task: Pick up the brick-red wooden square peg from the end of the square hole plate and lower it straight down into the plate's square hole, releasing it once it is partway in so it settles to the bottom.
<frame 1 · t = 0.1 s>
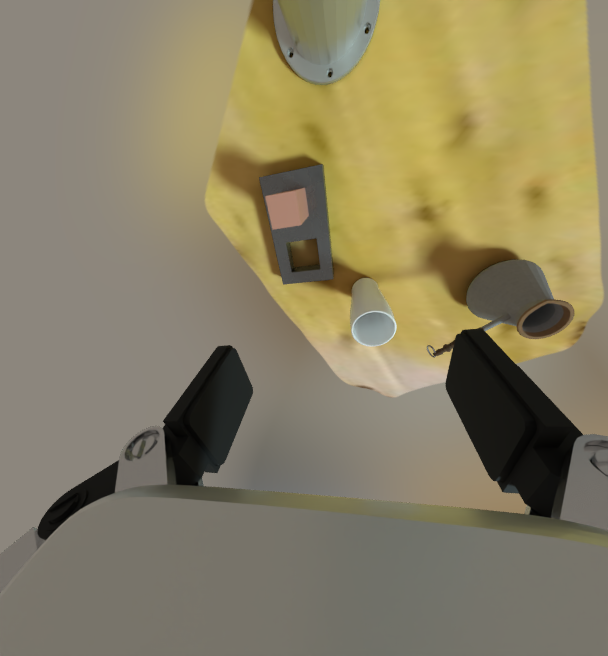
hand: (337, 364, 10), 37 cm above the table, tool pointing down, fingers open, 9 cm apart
square hole plate: (302, 229, 41), on the table
drinking glass: (364, 288, 46), on the table
coffee pot: (464, 293, 44), on the table
square peg: (295, 204, 37), point 3 cm above the table, touching square hole plate
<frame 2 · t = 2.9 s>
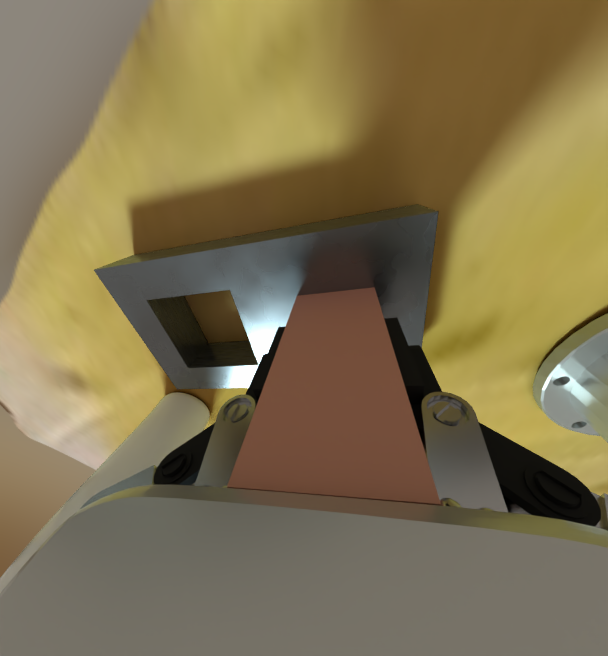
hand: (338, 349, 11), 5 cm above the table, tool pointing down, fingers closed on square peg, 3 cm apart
square hole plate: (275, 306, 16), on the table
drinking glass: (189, 404, 25), on the table
square peg: (338, 324, 13), point 3 cm above the table, touching gripper, square hole plate
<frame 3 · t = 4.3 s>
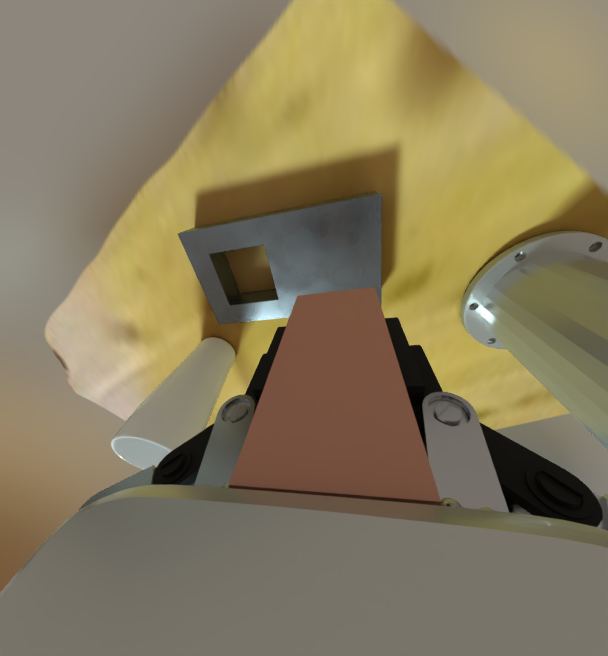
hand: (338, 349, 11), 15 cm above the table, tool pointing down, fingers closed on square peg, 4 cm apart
square hole plate: (289, 262, 24), on the table
drinking glass: (219, 349, 33), on the table
square peg: (338, 323, 13), point 13 cm above the table, touching gripper
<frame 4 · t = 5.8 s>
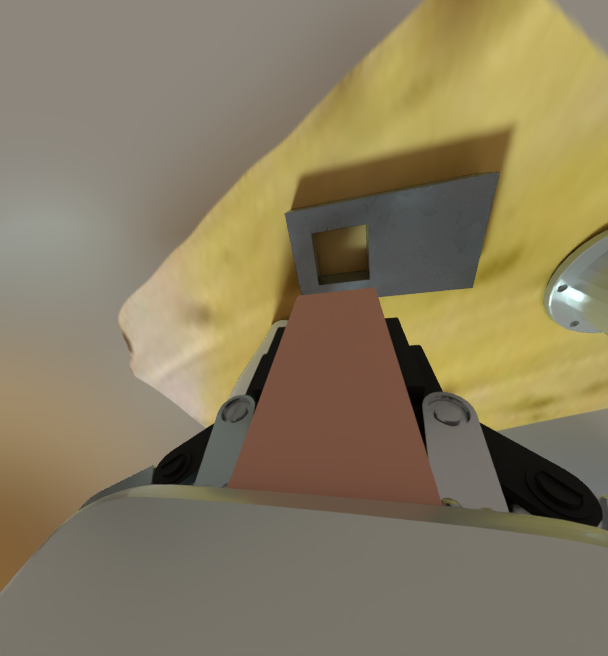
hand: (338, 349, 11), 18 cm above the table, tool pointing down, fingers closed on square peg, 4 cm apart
square hole plate: (377, 244, 25), on the table
drinking glass: (287, 332, 34), on the table
square peg: (338, 324, 13), point 16 cm above the table, touching gripper
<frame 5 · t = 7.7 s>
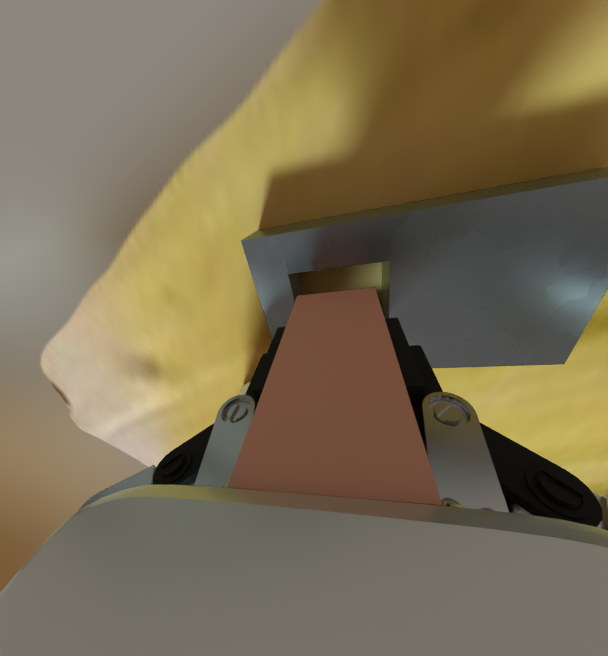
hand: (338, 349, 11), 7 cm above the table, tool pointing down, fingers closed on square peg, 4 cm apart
square hole plate: (400, 285, 15), on the table
square peg: (338, 324, 13), point 4 cm above the table, touching gripper
when the fingers open (3 cm above the table, at t = 8.9 s): square peg drops 1 cm, resting in square hole plate.
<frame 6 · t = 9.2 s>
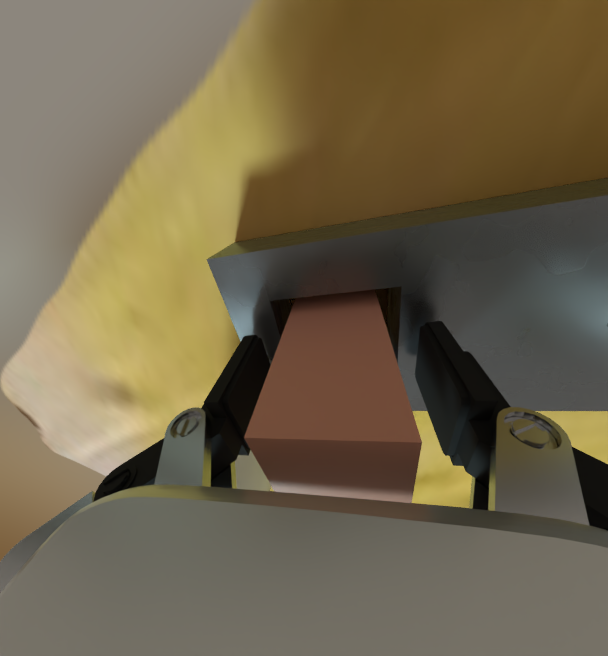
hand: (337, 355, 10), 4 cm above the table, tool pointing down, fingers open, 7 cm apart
square hole plate: (409, 308, 13), on the table
drinking glass: (254, 421, 21), on the table
square peg: (337, 314, 13), resting in square hole plate
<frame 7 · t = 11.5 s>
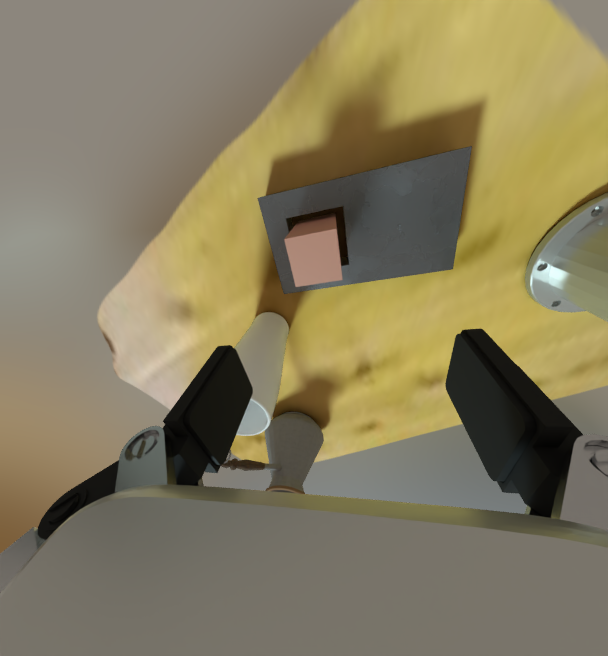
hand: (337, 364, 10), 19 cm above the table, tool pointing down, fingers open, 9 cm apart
square hole plate: (356, 229, 24), on the table
drinking glass: (272, 325, 33), on the table
coffee pot: (284, 407, 44), on the table
square peg: (319, 236, 25), resting in square hole plate
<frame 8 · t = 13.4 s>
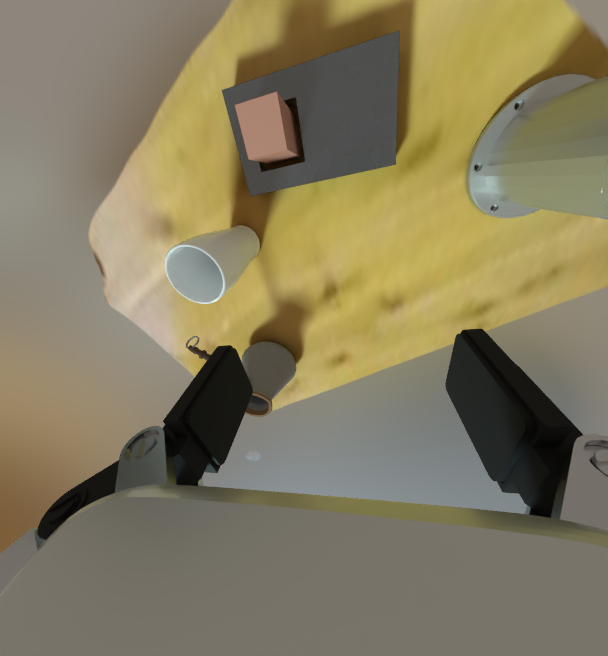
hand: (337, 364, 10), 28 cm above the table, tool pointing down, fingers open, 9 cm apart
square hole plate: (313, 132, 27), on the table
drinking glass: (245, 242, 36), on the table
coffee pot: (261, 338, 47), on the table
square peg: (282, 141, 28), resting in square hole plate
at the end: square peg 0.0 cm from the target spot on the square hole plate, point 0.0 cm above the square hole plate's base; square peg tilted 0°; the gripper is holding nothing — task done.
